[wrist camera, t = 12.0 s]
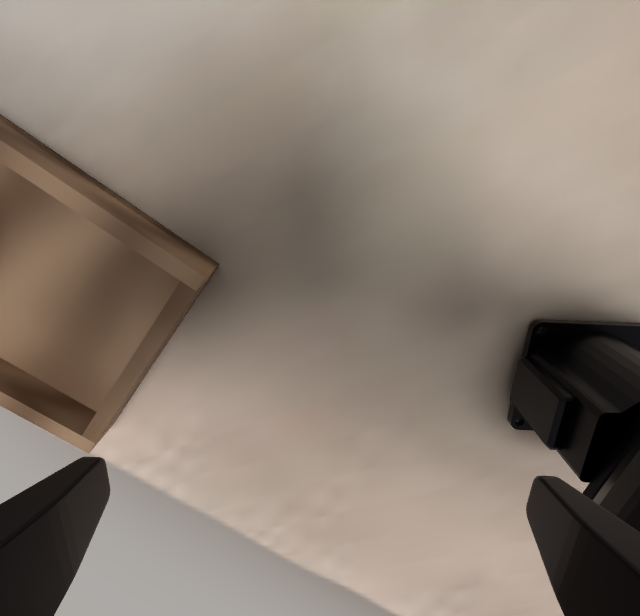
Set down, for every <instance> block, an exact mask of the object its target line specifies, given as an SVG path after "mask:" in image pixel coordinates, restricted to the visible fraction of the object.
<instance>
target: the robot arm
mask: <svg viewBox="0 0 640 616" xmlns="http://www.w3.org/2000/svg"><path fill="white" fill-rule="evenodd" d="M540 327H543V330H542V331H541V332H539V333H537V331H538V329H539V328H540ZM510 400H511V407H510V411H509V415H508V421H509V423H510V425H511V426H512V427H513V428H514V429H517V430H534V431H535V432H536V434H537V435H538V436H539V437H540V439H541V440H542V441H543V442H544V444H545V445H546V446H547V447H548V448H549V449H550V450H557V452H558V453H559V454H560V455H561V457H562V458H563V459H564V460H565V461H566V463H567V464H568V465H569V466H570V468H571V469H572V470H573V471H574V473H575V474H576V475H577V476H578V478H579V479H580V480H581V481H583V482H590V483H589V485H588V486H587V488H586V489H585V490H584V492H583V493H581V492H579V491H578V490H576V489H575V488H573V487H572V486H570V485H569V484H567V483H566V482H564V481H563V480H561V479H560V478H558V477H554V476H537V477H536V478H535V479H534V481H533V484H532V487H531V491H530V495H529V498H528V502H527V507H526V512H527V518H528V521H529V524H530V526H531V529H532V532H533V535H534V538H535V540H536V543H537V546H538V549H539V552H540V554H541V557H542V560H543V563H544V565H545V568H546V571H547V574H548V577H549V579H550V582H551V585H552V587H553V590H554V593H555V595H556V598H557V600H558V602H559V604H560V607H561V609H562V611H563V613H564V616H640V324H636V323H613V322H590V321H567V320H543V319H540V320H535V321H533V322H532V323H531V324H530V326H529V329H528V333H527V338H526V342H525V346H524V351H523V355H522V357H521V358H520V360H519V361H518V365H517V370H516V374H515V378H514V383H513V387H512V391H511V396H510ZM519 418H521V420H520V421H518V422H516V420H517V419H519ZM109 495H110V484H109V478H108V473H107V467H106V462H105V460H104V459H103V458H101V457H82V458H80V459H78V460H76V461H74V462H73V463H71V464H69V465H68V466H66V467H64V468H62V469H61V470H59V471H57V472H55V473H54V474H52V475H50V476H48V477H47V478H45V479H43V480H42V481H40V482H38V483H36V484H35V485H33V486H31V487H29V488H28V489H26V490H24V491H23V492H21V493H19V494H17V495H16V496H14V497H12V498H11V499H9V500H7V501H5V502H4V503H2V504H0V616H54V614H55V612H56V611H57V609H58V607H59V605H60V603H61V601H62V600H63V598H64V596H65V594H66V592H67V590H68V589H69V587H70V585H71V583H72V581H73V579H74V577H75V575H76V573H77V570H78V568H79V566H80V564H81V562H82V560H83V557H84V555H85V553H86V550H87V548H88V546H89V543H90V541H91V539H92V536H93V534H94V532H95V530H96V527H97V525H98V523H99V520H100V518H101V516H102V513H103V511H104V509H105V507H106V504H107V502H108V499H109Z"/></svg>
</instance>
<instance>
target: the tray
mask: <svg viewBox="0 0 640 616" xmlns="http://www.w3.org/2000/svg"><path fill="white" fill-rule="evenodd" d="M218 265H219V264H218V263H216V262H215V261H214V260H212V259H211V258H209V257H208V256H206V255H205V254H203V253H202V252H200V251H199V250H197V249H196V248H195V247H193V246H192V245H190V244H189V243H187V242H186V241H184V240H183V239H181V238H180V237H178V236H177V235H176V234H174V233H173V232H171V231H170V230H168V229H167V228H165V227H164V226H162V225H161V224H159V223H158V222H157V221H155V220H154V219H152V218H151V217H149V216H148V215H146V214H145V213H143V212H142V211H140V210H139V209H137V208H136V207H135V206H133V205H132V204H130V203H129V202H127V201H126V200H124V199H123V198H121V197H120V196H118V195H117V194H116V193H114V192H113V191H111V190H110V189H108V188H107V187H105V186H104V185H102V184H101V183H99V182H98V181H97V180H95V179H94V178H92V177H91V176H89V175H88V174H86V173H85V172H83V171H82V170H80V169H79V168H78V167H76V166H75V165H73V164H72V163H70V162H69V161H67V160H66V159H64V158H63V157H61V156H60V155H58V154H57V153H56V152H54V151H53V150H51V149H50V148H48V147H47V146H45V145H44V144H42V143H41V142H39V141H38V140H37V139H35V138H34V137H32V136H31V135H29V134H28V133H26V132H25V131H23V130H22V129H20V128H19V127H18V126H16V125H15V124H13V123H12V122H10V121H9V120H7V119H6V118H4V117H3V116H1V115H0V406H2V407H4V408H6V409H8V410H10V411H11V412H13V413H15V414H17V415H19V416H20V417H22V418H24V419H26V420H28V421H30V422H32V423H33V424H35V425H37V426H39V427H41V428H43V429H44V430H46V431H48V432H50V433H52V434H54V435H56V436H57V437H59V438H61V439H63V440H65V441H67V442H68V443H70V444H72V445H74V446H76V447H78V448H80V449H81V450H83V451H85V452H87V453H90V452H91V450H92V449H93V448H94V447H95V446H96V444H97V443H98V442H99V441H100V440H101V438H102V437H103V436H104V435H105V434H106V432H107V431H108V430H109V429H110V428H111V426H112V425H113V424H114V422H115V421H116V419H117V418H118V416H119V415H120V413H121V412H122V410H123V409H124V407H125V406H126V404H127V403H128V401H129V400H130V398H131V397H132V395H133V394H134V392H135V391H136V389H137V387H138V386H139V384H140V383H141V381H142V380H143V378H144V377H145V375H146V374H147V372H148V371H149V369H150V368H151V366H152V365H153V363H154V362H155V360H156V359H157V357H158V356H159V354H160V353H161V351H162V350H163V348H164V347H165V345H166V344H167V342H168V341H169V339H170V338H171V336H172V335H173V333H174V332H175V330H176V329H177V327H178V326H179V324H180V323H181V321H182V320H183V318H184V317H185V315H186V314H187V312H188V311H189V309H190V308H191V306H192V305H193V303H194V302H195V300H196V299H197V297H198V296H199V294H200V293H201V291H202V289H203V288H204V286H205V285H206V283H207V282H208V280H209V279H210V277H211V276H212V274H213V273H214V271H215V270H216V268H217V267H218Z"/></svg>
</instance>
